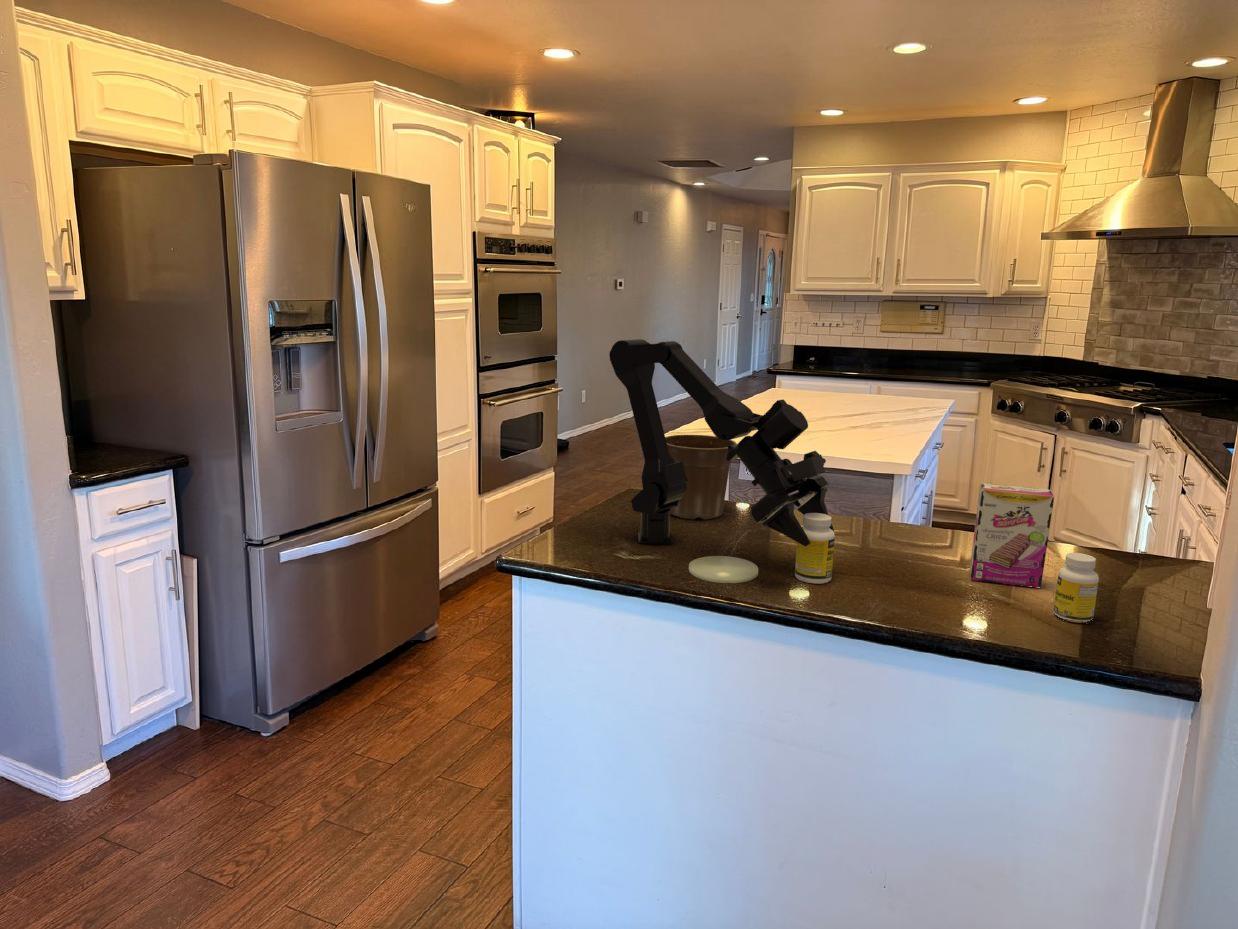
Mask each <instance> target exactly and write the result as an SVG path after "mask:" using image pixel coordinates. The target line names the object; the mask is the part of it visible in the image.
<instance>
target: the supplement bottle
mask: <svg viewBox="0 0 1238 929" xmlns="http://www.w3.org/2000/svg"><path fill="white" fill-rule="evenodd" d="M1096 562H1097V558H1096V557H1094V556H1092V555H1089V554H1086V553H1081V552H1080V553H1079V552H1069V553H1067V554H1066V555H1065V560H1064V564H1065V566H1063V567H1061V568H1060V569H1059V570H1058V574H1057V581H1056V582H1057V584H1056V589H1055V596H1054V604H1053V614H1054V613H1055V615H1057V616H1058V617H1060V618H1063V619H1068V620H1074V621H1083V622H1087V621H1090V620H1092V619H1093V620H1094V616H1095V610H1096V603H1097V594H1098V588H1099V587H1098V586H1099V579H1100V578H1099V574H1098V573H1097V572H1095V571H1094V569H1095V568H1096V564H1097V563H1096ZM1055 615H1054V616H1055ZM1093 620H1092V621H1093Z"/></svg>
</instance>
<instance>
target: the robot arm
mask: <svg viewBox="0 0 1238 929" xmlns="http://www.w3.org/2000/svg"><path fill="white" fill-rule="evenodd" d="M608 356H609V361H610V364H611V365H612V369H613V371H614V373H615V376H616V377H617V379H618V380H619V381H620V382H621V384H622V385H623V386H624V387H625V388H626V390H627V395H628V399H629V402H630V406H631V411H632V415H633V419H634V423H635V428H636V432H637V435H638V439H639V443H640V446H641V451H642V455H643V458H644V459H643V460H644V463H643V469H642V473H641V485H642V489H641V490H640V491H639V492H638V493H637V494H636V495H635V496H634V497H633V498H632V499H631V501H630V502H631V506H632V509H633V510H632V511H634V512H637V513H640V531H638V532H637V540H638V544H649V545H650V544H652V545H653V544H654V545H655V544H658V545H659V544H660V545H661V544H662V545H664V544H665V545H667V544H668V545H672V544H673V536H672V533H671V514H670V508H673V507H677V506H678V504H679V501H680V499H681V498H682V497H683V496H684V494H685V492H686V490H687V485H686V482H688V479H687V477H686V475H685V471H684V464H683V462H682V461H681V462H677V463H676V462H675V461H674V460H673V458H672V457H671V456H670V454H669V450H668V446H667V442H666V438H665V437H666V435H665V431H664V426H663V424H662V423H663V422H662V420H661V419H662V418H661V416H660V414H661V413H660V411H659V407H658V403H657V399H656V395H655V391H654V390H655V389H654V387H653V378H654V372H655V369H656V365H655V364H659V365H661V366H662V367H663V368H664V369H665V370H666V371H667V372H668V373H669V375H671V376H672V377H673V378H674V380H675V381H676V382H677V383H678V384H679V385H680V387H681V388H683V390H684V391H685V392H686V393H687V394H688V396H690V397H691V398H692V399H693V401H694V402H696V404H697V405H698V406H699V407H700V409H701V411H702V414H703V417H704V421H705V422H706V424H707V426H708V427H709V429H710V430H711V432H712V433H713V434H714V435H713V436H716V437H717V438H719V439H721V440H735V439H739V438H742V437H743V438H742V439H741V440H739V441H738V442H737V445H736V444H733V445H729V446H728V453H727V458H726V460H727V461H731V460H732V461H735V460H737V459H740V461H741V462H742V464H743V465H744V466H745V468H746V469H747V470H748V471H749V473H750V474H751V476H752V477H753V480H752V481H751V485H753V486H754V487H758V486H760V488H761V489H762V490H763V493H765V495H763V497H761V499H759V500H758V501H757V502H756V503H755V504H753V505H752V506H751V507H750V513H749V515H750V517H751V518H752V519H753V521H754V523H755V524H756V525H759V524H762V526H763V527H767V528H770V529H772V530H774V531H775V532H778V533H780V534H782V535H783V536H786V537H787V538H789V539H790V540H792V541H794V542H796V543H797V542H798V543H800V544H801V545H803V546H807V545H809V544H810V541H809V539H808V537H807V535H806V533H805V532H804V530H803V528H802V527H803V526H802V525H801V523H800V522H799V520H798V519H797V517H796V515H795V512H794V511H795V506H796V507H798V508H797V511H798V512H799V513H801V514H802V516H803V515H804V514H807V513H821V514H826V515H829V513H828V510H827V507H826V504H825V498H826V493H828V488H827V487H828V486H829V482H827V480H826V479H825V478H824V476H823V475H821V474H824V473H826V469H825V464H826V462H827V461H826V458H824V457H823V456H822V454H820V453H819V452H817V450H813V451H810V452H806V453H805V454H803V460H800V461H796V462H794V463H793V462H792V461H791V460H790V459H789V458H781V457H780V455H779V454H778V453H777V452H776V450H775V449H778V450H785V449H786V448H787V447H788V446H789V445H791V443H793V442H794V441H795V440H796V439H797V438H798V437H799V436H800V435H801V434H803V433H804V432H805V431H806V430H807V429H808V428H809V423H808V422H809V421H808V420H807V419H806V416H805V415H804V413H803V412H802V411H799V410H798V409H797V408H795V407H794V406H792V405H791V404H789V403H787V402H786V400H785V399H778V400H776V401H775V402H774V403H773V404H772V405H771V407H770V408H769V409H768V410H767V411H766V412H764V414H763V415H761V414H759V413H756V412H753V411H752V409H751V408H749V407H748V406H747V405H746V404H744V403H743V402H742V401H740V400H739V399H738V398H736V397H734V396H732V395H730V394H728V393H726V392H724V391H723V390H722V389H720V387H719V386H718V385H716V383H715V382H714V381H713V380H712V379H711V378H710V377H709V376H708V375H707V373H705V371H703V369H702V368H701V367H700V366H699V365H698V364H697V363H696V362H695V361H694V360H693V359H692V358H691V357H690V356H689V354H687V353H686V351H685V350H684V348H683V347H682V345H681V344H680V343H678V341H675V340H670V341H661V342H658V343H650V342H648V341H647V340H645V339H641V338H640V339H624V340H623V339H622V340H618V341H616V342H615V343H614V344H613V345H612V346H611V349H610V351H609V355H608ZM753 431H756V432H755V433H754V434H753V435H749V434H751V432H753ZM829 528H830V529H831V530H833V532H834V531H835V528H834V526H833V523H832V522H831V526H830V527H829ZM834 533H835V532H834Z"/></svg>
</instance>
